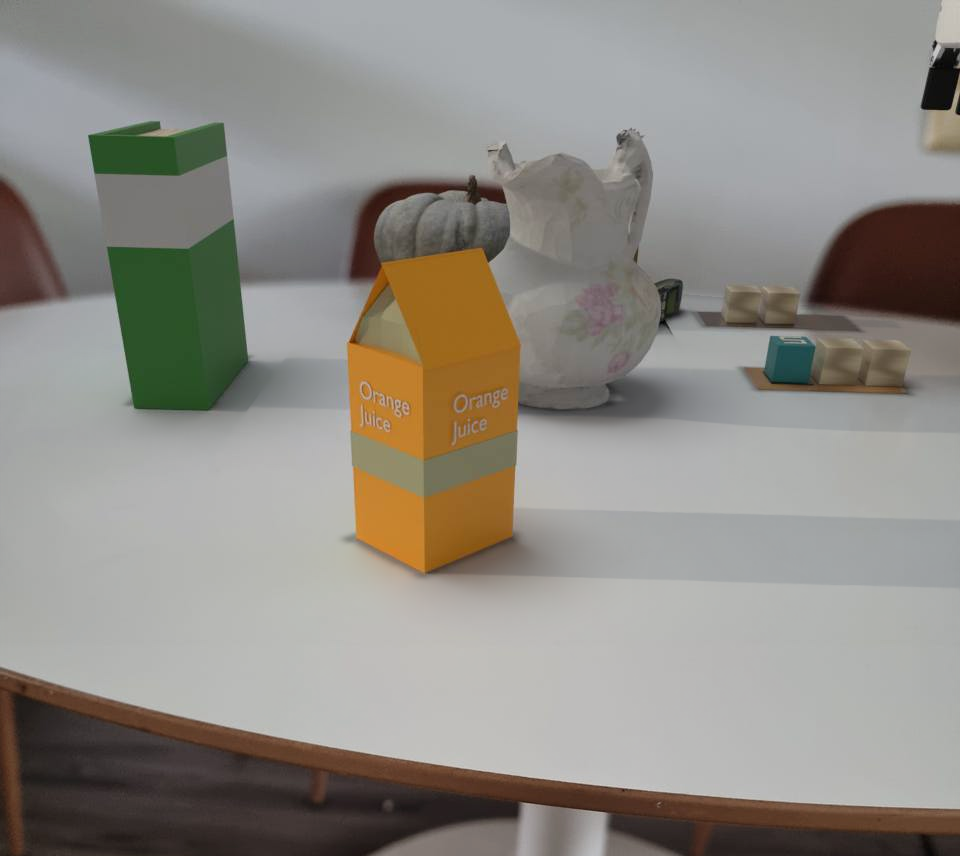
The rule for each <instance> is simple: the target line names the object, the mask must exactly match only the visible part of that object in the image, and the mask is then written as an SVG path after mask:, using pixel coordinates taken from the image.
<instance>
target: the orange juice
mask: <svg viewBox="0 0 960 856" xmlns="http://www.w3.org/2000/svg"><path fill="white" fill-rule="evenodd" d="M381 264H382V266H381V267H380V270H379V271H378V275H377V276H376V278H375V281H374V284H373V285H372V287H371V290H370V292H369V294H368V297H367V300H366V301H365V304H364V305H363V308H362V311H361V313H360V315H359V317H358V320H357V322H356V324H355V326H354V329H353V331H352V334H351V336H350V338H349V340H348V342H346V354H347V356H346V357H347V372H348V373H347V374H348V391H349V392H348V393H349V416H350V432H349V433H350V452H351V453H350V454H351V466H352V476H353V495H354V496H353V497H354V514H355V515H354V516H355V537H356V539H358V540H359V541H361V542H363V543H366V544H367V545H369V546H371V547H373V548H375V549H377V550H378V551H381V552H382V553H385V554H387V555H389V556H390V557H392V558H395V559H396V560H398V561H400V562H402V563H404V564H406V565H408V566H410V567H412V568H414V569H415V570H418V571H420V572H422V573H423V574H426V573H428V572H429V573H430V572H431V571H434V570H435V569H438V568H441V567H443V566H445V565H448V564H451V563H452V562H455V561H457V560H460V559H462V558H465V557H467V556H469V555H472V554H475V553H476V552H479V551H481V550H483V549H486V548H489V547H491V546H493V545H495V544H498V543H501V542H503V541H506V540H509V539H510V538H512V537H513V535H514V534H513V533H514V532H513V531H514V510H515V509H514V508H515V507H514V505H515V485H516V484H515V483H516V467H517V457H518V436H519V435H518V434H519V431H518V419H519V418H518V416H519V414H518V413H519V403H518V395H519V371H520V348H521V347H522V346H521V343H520V341H519V339H518V336H517V334H516V331H515V329H514V326H513V324H512V321H511V319H510V316H509V314H508V311H507V309H506V306H505V304H504V301H503V299H502V296H501V294H500V291H499V289H498V286H497V284H496V281H495V279H494V276H493V274H492V271H491V269H490V266H489V264H488V261H487V259H486V256H485V254H484V251H483V249H482V248H476V249H470V250H463V251H457V252H450V253H443V254H437V255H430V256H424V257H417V258H410V259H404V260H397V261H391V262H384V263H380V265H381Z"/></svg>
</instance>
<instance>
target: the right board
mask: <svg viewBox="0 0 960 856" xmlns="http://www.w3.org/2000/svg"><path fill="white" fill-rule="evenodd" d="M814 345H815V346H816V348H815V353H814V358H813V363H812V368H811V373H810V378H809V383H785V382H772V381H771V380H770V379H769V377H768V376H767V375H766V374H765V372H764V369H765V367H751V366H750V367H749V366H747V367H745V366H744V367H743V368H742V369H743V370H744V372H745V373H746V375H747V376H748V378H749V379H750V380H751V382H752V383H753V384H754V386H755V387H756V389H757V390H759V391H782V392H783V391H785V392H786V391H789V392H820V393H822V392H823V393H853V394H854V393H855V394H886V395H887V394H889V395H908V394H909V392H908V391H907V390H906V389H905V388H904V387H903V384H904V381H905V376H906V374H907V369H908V365H909V361H910V357H911V354H912V349H911V348H909V347H908V346H907V345H905V344H904V343H903V342H901V340H899V339H898V340H897V339H865V338H864V339H862V340H861V345H860V344H859V343H858V342H857V341H856V340H855V339H853V338H832V337H830V338H829V337H828V338H827V337H817V338H816V340H815V344H814Z"/></svg>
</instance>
